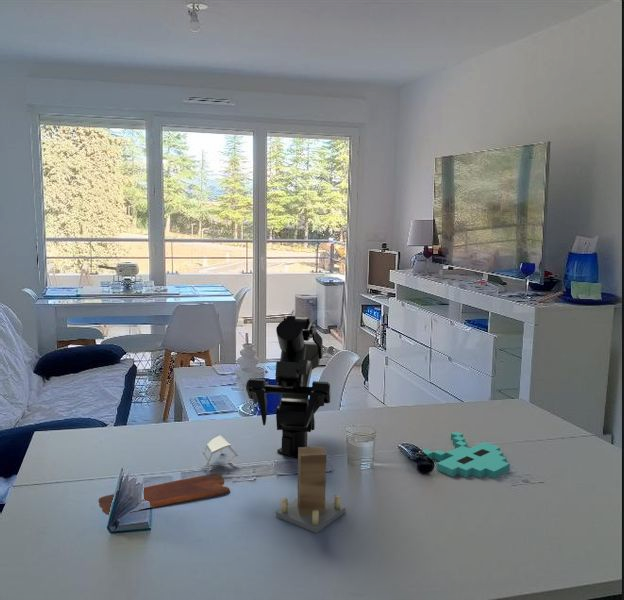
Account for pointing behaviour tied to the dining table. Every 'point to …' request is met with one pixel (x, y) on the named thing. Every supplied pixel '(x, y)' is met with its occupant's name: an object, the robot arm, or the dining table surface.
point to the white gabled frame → (218, 448)
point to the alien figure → (470, 459)
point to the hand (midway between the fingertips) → (284, 425)
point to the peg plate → (310, 521)
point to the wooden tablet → (177, 491)
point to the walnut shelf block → (311, 480)
